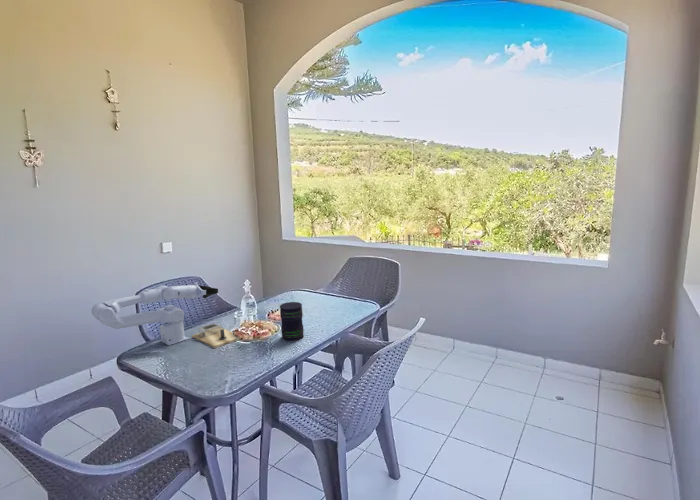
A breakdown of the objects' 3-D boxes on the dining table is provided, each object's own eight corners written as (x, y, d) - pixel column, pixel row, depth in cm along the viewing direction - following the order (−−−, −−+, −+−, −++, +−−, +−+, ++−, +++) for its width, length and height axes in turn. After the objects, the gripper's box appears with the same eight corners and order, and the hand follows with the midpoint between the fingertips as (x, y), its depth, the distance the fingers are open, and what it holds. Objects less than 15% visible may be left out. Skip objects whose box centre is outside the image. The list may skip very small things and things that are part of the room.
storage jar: (277, 338, 194) (274, 306, 191) (291, 331, 202) (289, 300, 199) (294, 343, 188) (292, 310, 185) (308, 335, 196) (306, 303, 193)
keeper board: (214, 348, 186) (213, 337, 185) (192, 337, 199) (191, 327, 198) (242, 338, 196) (242, 327, 195) (219, 328, 209) (218, 318, 208)
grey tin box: (205, 336, 197) (204, 330, 196) (199, 334, 200) (198, 327, 200) (221, 331, 202) (220, 325, 202) (215, 329, 206) (214, 323, 206)
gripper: (192, 284, 192) (221, 283, 201) (179, 281, 203) (207, 280, 212) (192, 300, 192) (220, 298, 202) (179, 296, 203) (207, 294, 212)
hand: (214, 290), depth 207 cm, fingers open, 7 cm apart
